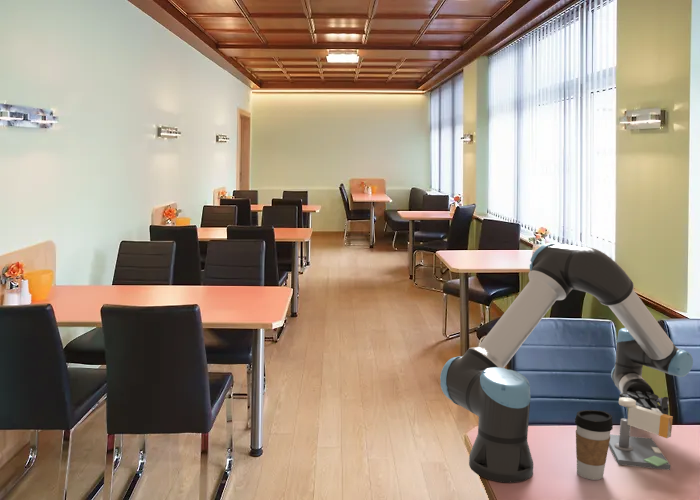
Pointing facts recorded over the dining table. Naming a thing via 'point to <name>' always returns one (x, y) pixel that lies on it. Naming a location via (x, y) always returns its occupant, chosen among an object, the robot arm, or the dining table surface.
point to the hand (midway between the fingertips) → (662, 423)
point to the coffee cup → (592, 442)
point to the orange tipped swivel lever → (643, 421)
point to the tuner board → (638, 453)
